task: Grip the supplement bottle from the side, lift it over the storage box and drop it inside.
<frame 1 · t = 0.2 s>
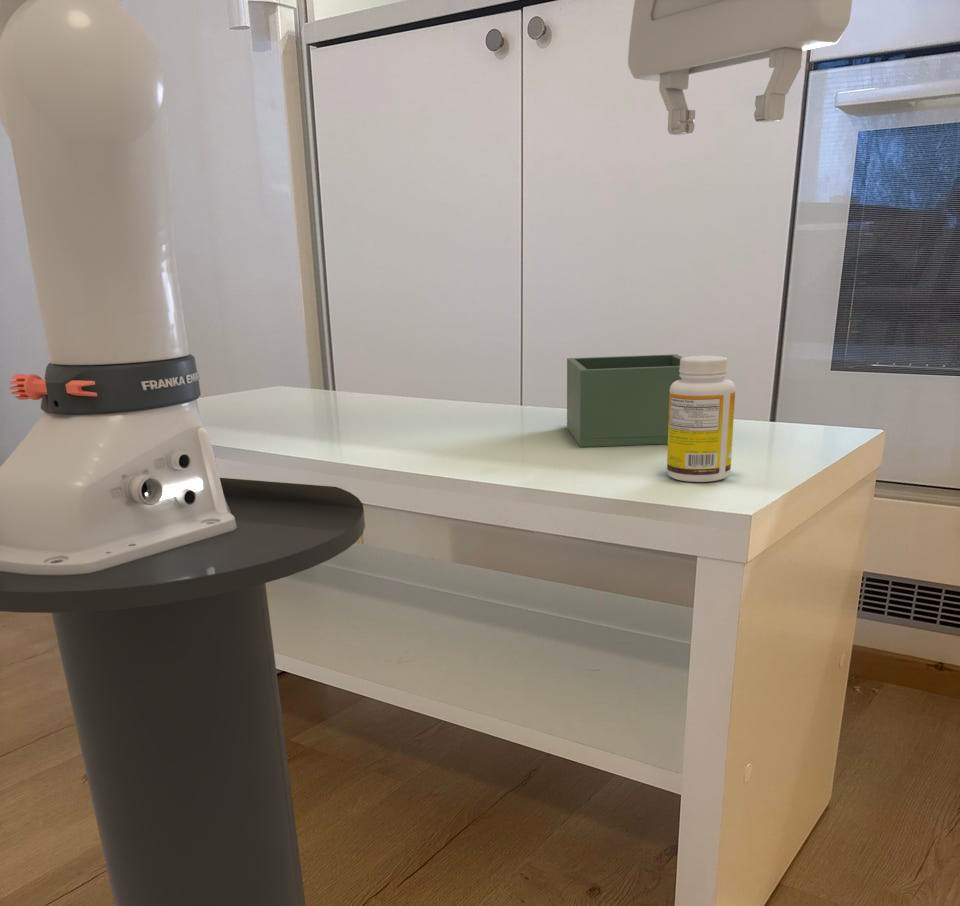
hand: (722, 128, 78), 28 cm above the table, tool pointing down, fingers open, 8 cm apart
supplement bottle: (697, 479, 84), on the table
storage box: (629, 434, 105), on the table
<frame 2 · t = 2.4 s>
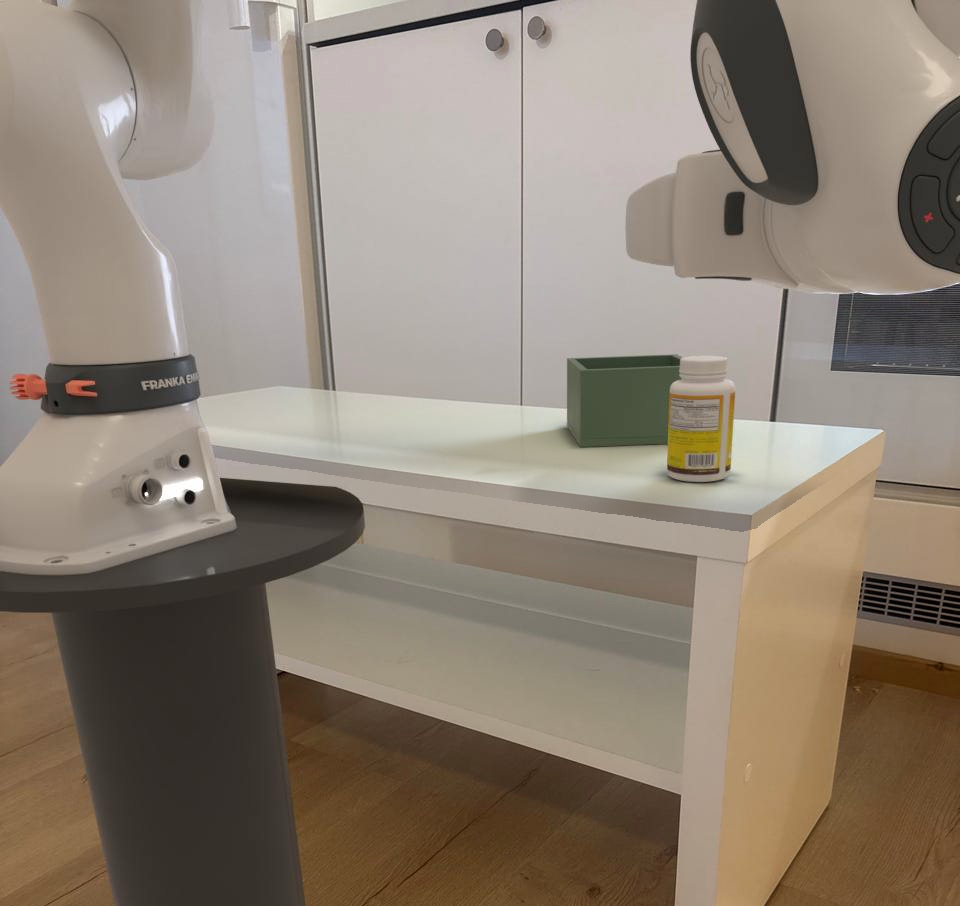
hand: (753, 224, 66), 20 cm above the table, tool horizontal, fingers open, 8 cm apart
nothing on the table moved.
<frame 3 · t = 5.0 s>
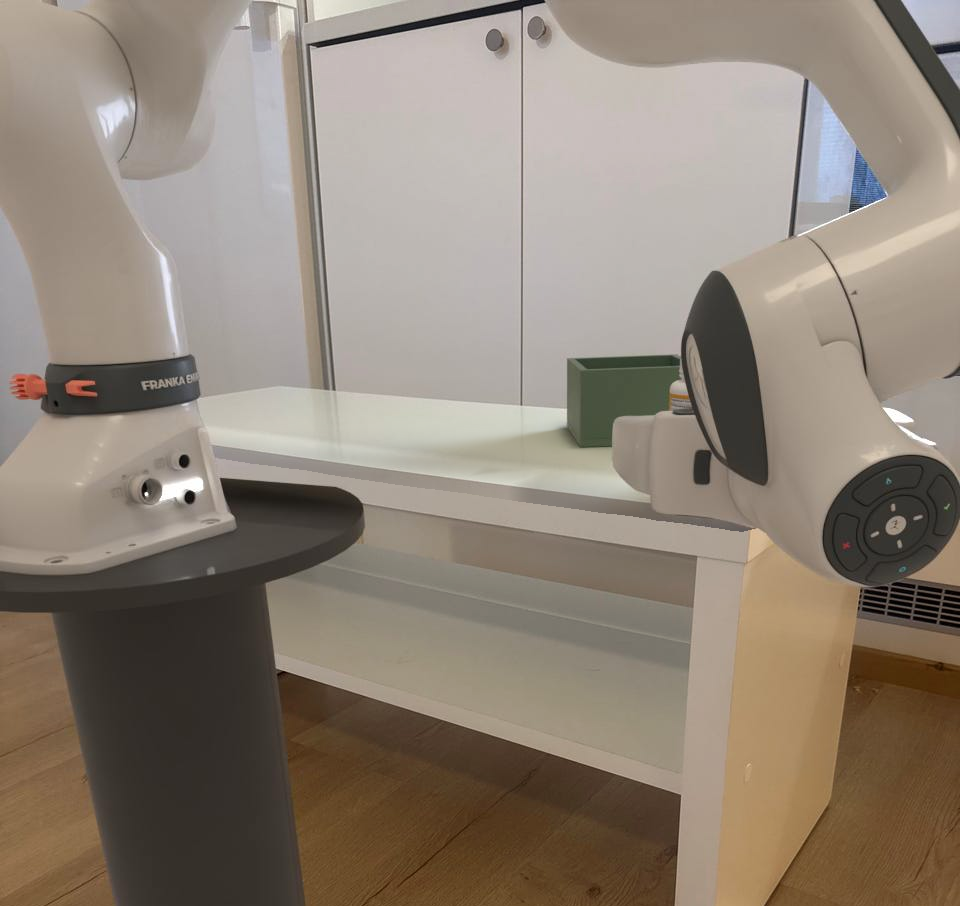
hand: (730, 425, 73), 6 cm above the table, tool horizontal, fingers open, 8 cm apart
nothing on the table moved.
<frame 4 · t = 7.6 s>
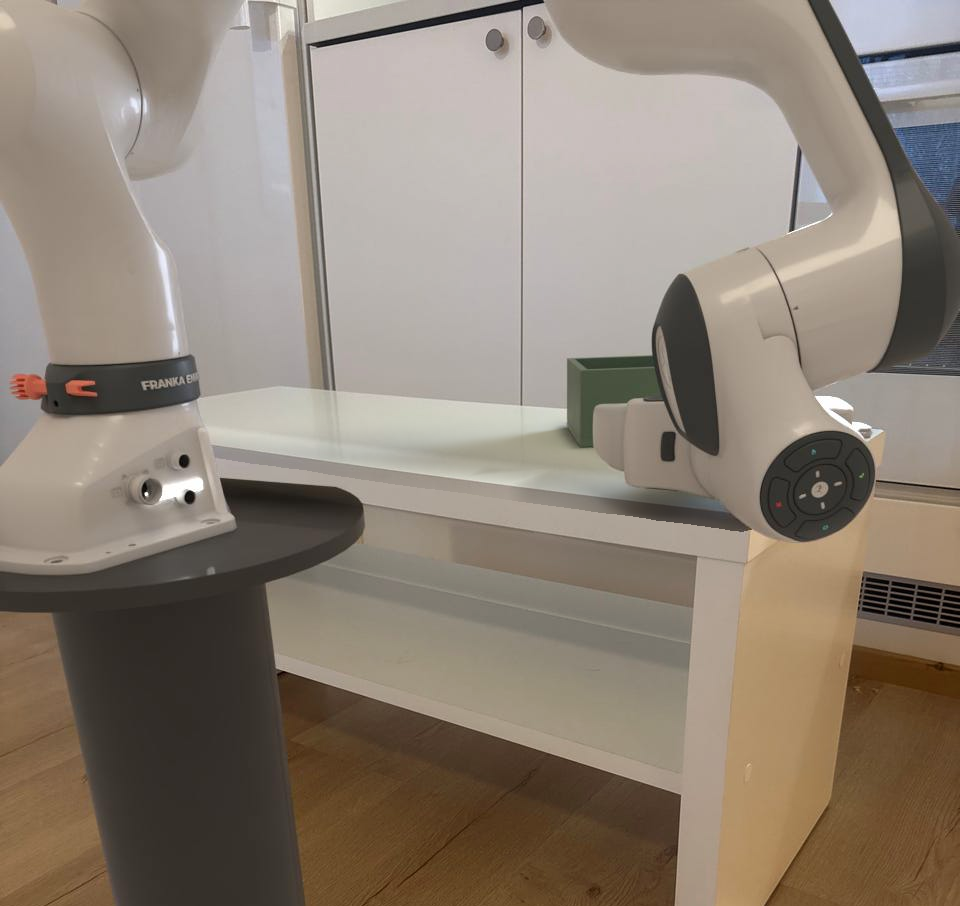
hand: (698, 412, 83), 6 cm above the table, tool horizontal, fingers closed on supplement bottle, 5 cm apart
supplement bottle: (697, 479, 84), on the table, touching gripper
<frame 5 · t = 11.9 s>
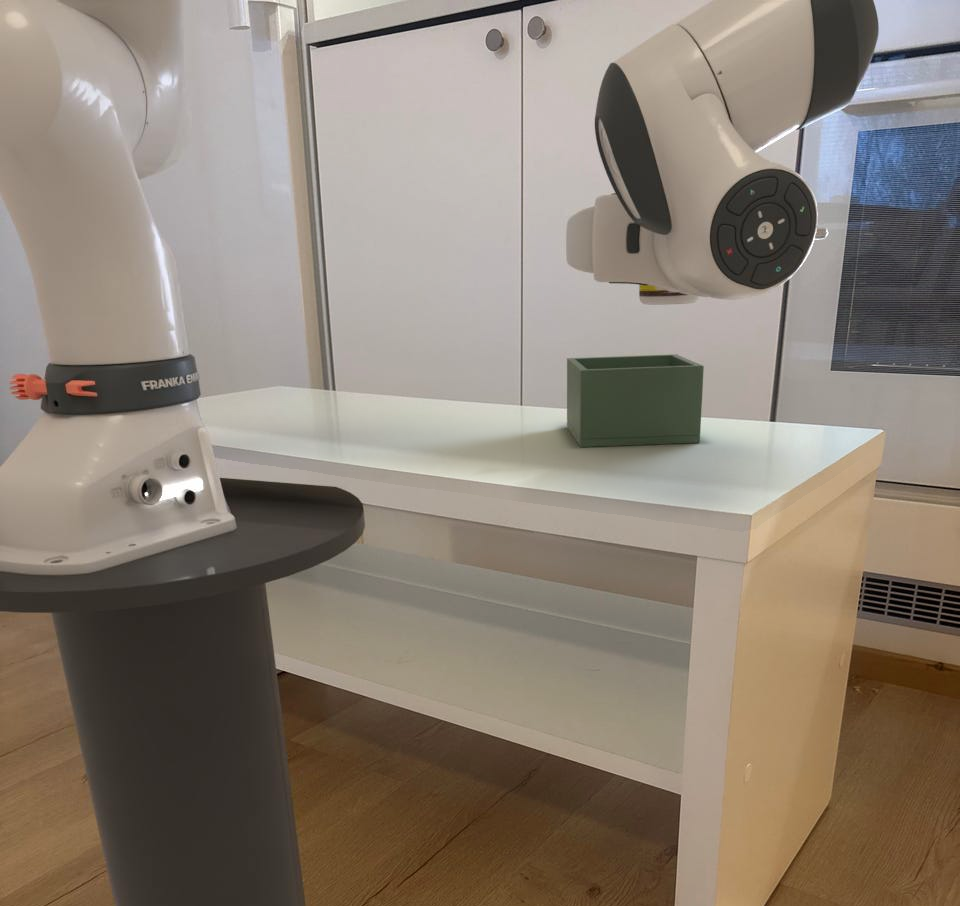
hand: (668, 240, 87), 20 cm above the table, tool horizontal, fingers closed on supplement bottle, 5 cm apart
supplement bottle: (668, 305, 88), point 14 cm above the table, touching gripper
when the fingers open (11 cm above the table, at t = 16.5 s): supplement bottle drops 4 cm, resting on storage box.
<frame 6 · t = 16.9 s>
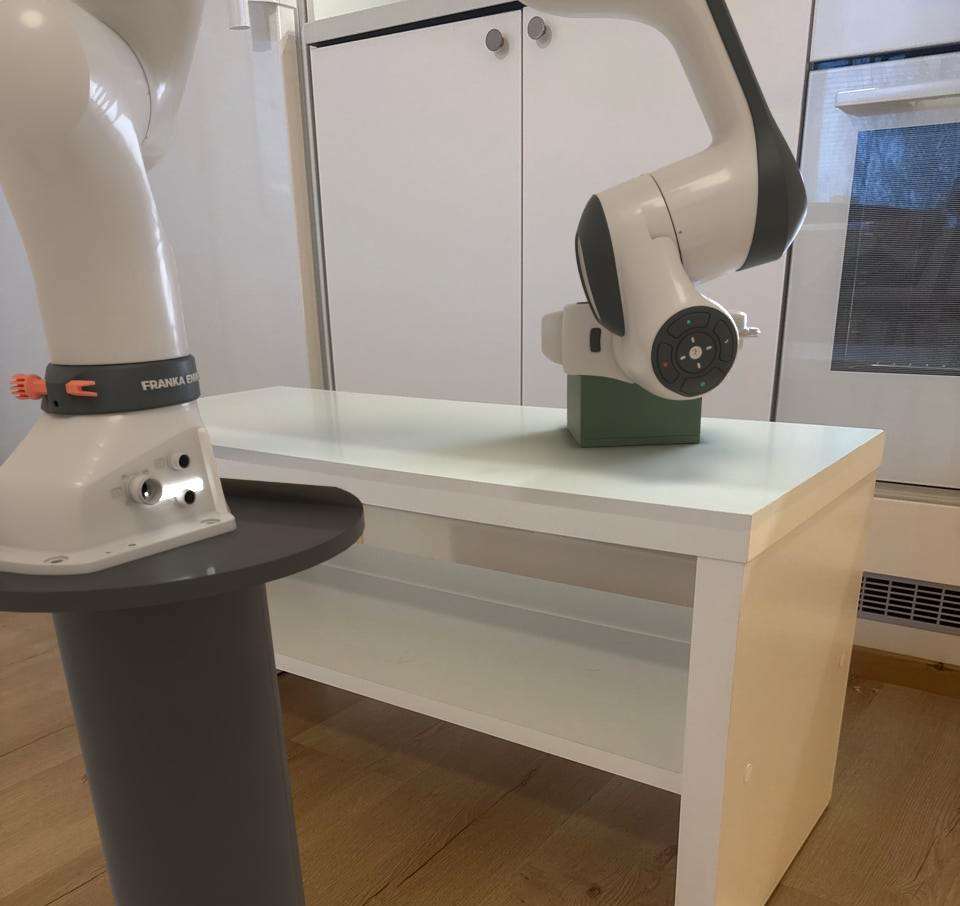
hand: (630, 327, 101), 11 cm above the table, tool horizontal, fingers open, 8 cm apart
supplement bottle: (628, 428, 105), point 1 cm above the table, touching storage box
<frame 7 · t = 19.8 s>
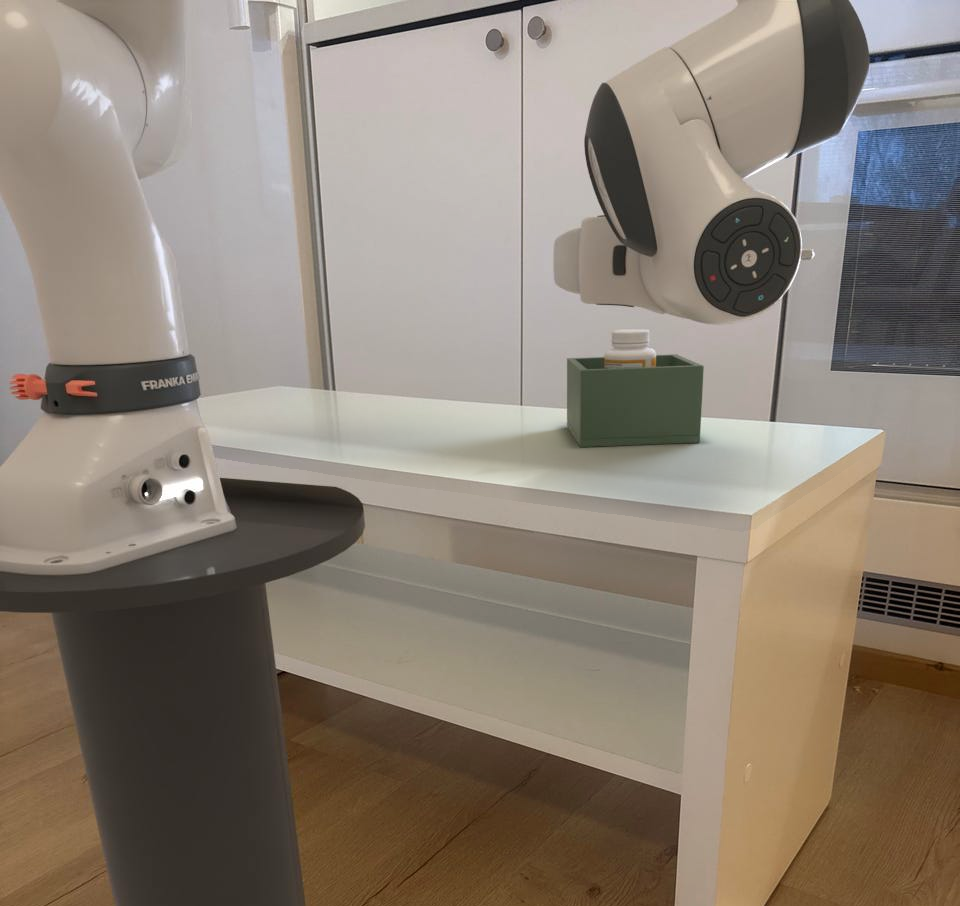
hand: (656, 258, 87), 18 cm above the table, tool horizontal, fingers open, 8 cm apart
nothing on the table moved.
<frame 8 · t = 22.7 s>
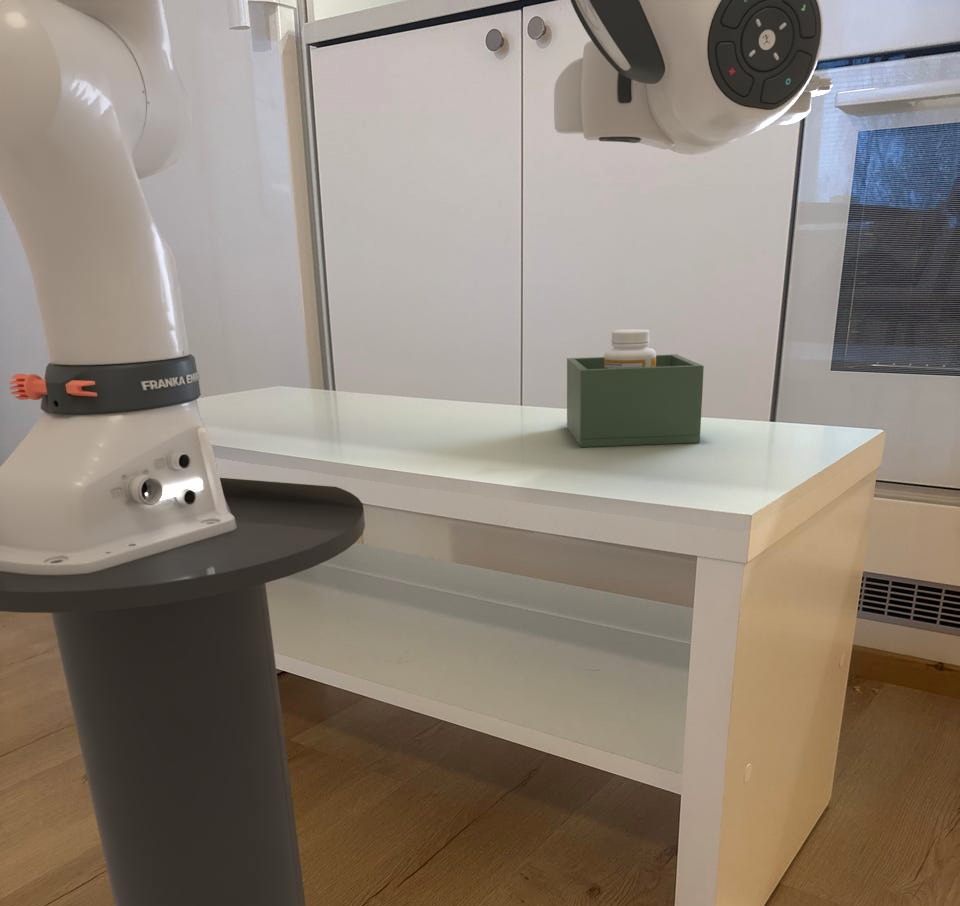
hand: (662, 113, 82), 30 cm above the table, tool horizontal, fingers open, 8 cm apart
nothing on the table moved.
at the end: supplement bottle inside the target area in the storage box (0.2 cm from its centre), point 0.6 cm above the storage box's base; the gripper is holding nothing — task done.
